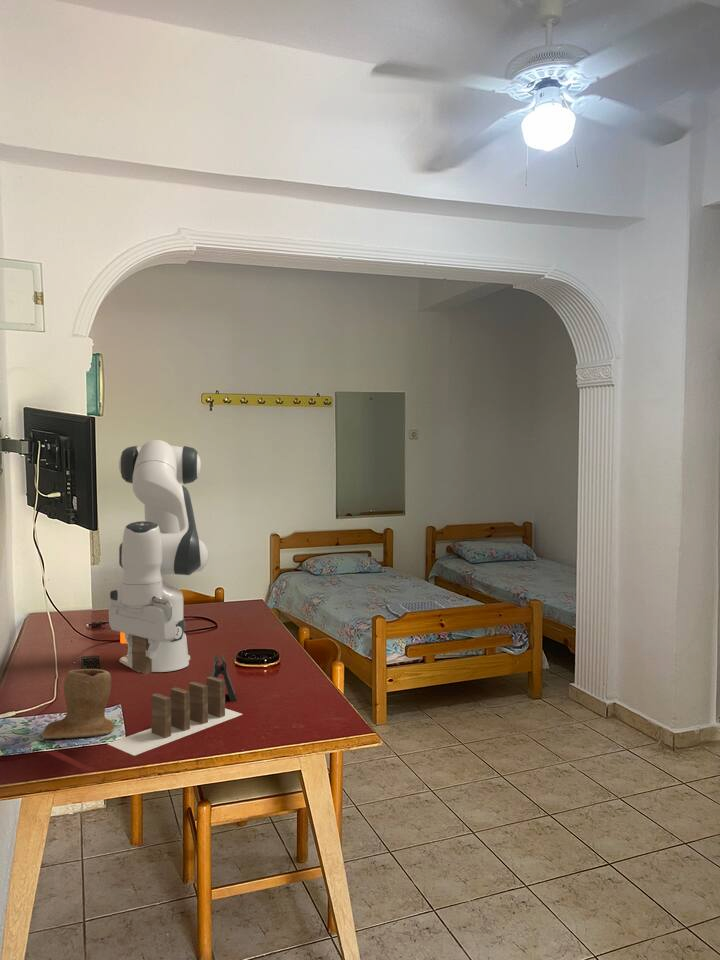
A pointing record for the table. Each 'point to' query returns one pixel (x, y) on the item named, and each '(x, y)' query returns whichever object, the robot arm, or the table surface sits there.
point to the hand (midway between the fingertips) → (142, 655)
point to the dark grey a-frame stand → (222, 670)
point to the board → (149, 740)
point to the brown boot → (83, 706)
